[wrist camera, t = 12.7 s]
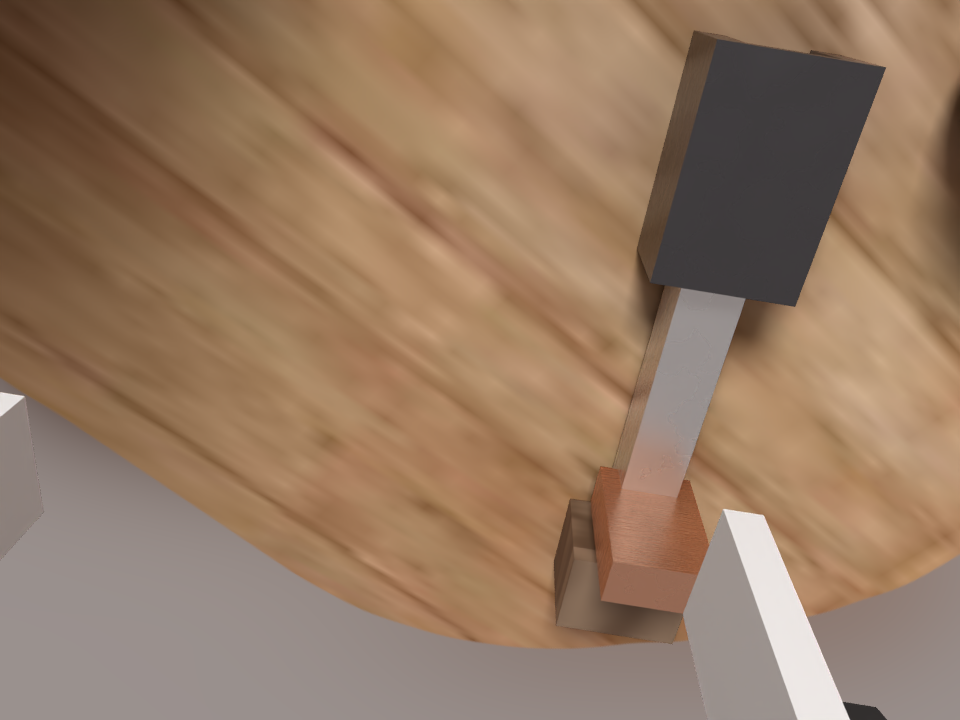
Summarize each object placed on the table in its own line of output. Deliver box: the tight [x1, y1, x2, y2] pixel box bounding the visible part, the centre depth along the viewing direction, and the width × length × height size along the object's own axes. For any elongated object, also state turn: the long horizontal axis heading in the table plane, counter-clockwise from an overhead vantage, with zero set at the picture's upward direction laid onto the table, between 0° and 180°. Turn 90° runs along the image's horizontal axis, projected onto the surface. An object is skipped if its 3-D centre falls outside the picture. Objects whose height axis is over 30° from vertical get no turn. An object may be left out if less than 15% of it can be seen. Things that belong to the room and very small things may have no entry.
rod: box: [591, 285, 745, 614], centre depth 43 cm, size 6×28×11 cm, turn 171°
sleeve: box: [637, 31, 886, 307], centre depth 39 cm, size 8×12×6 cm, turn 171°
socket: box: [554, 499, 683, 644], centre depth 52 cm, size 8×6×6 cm
